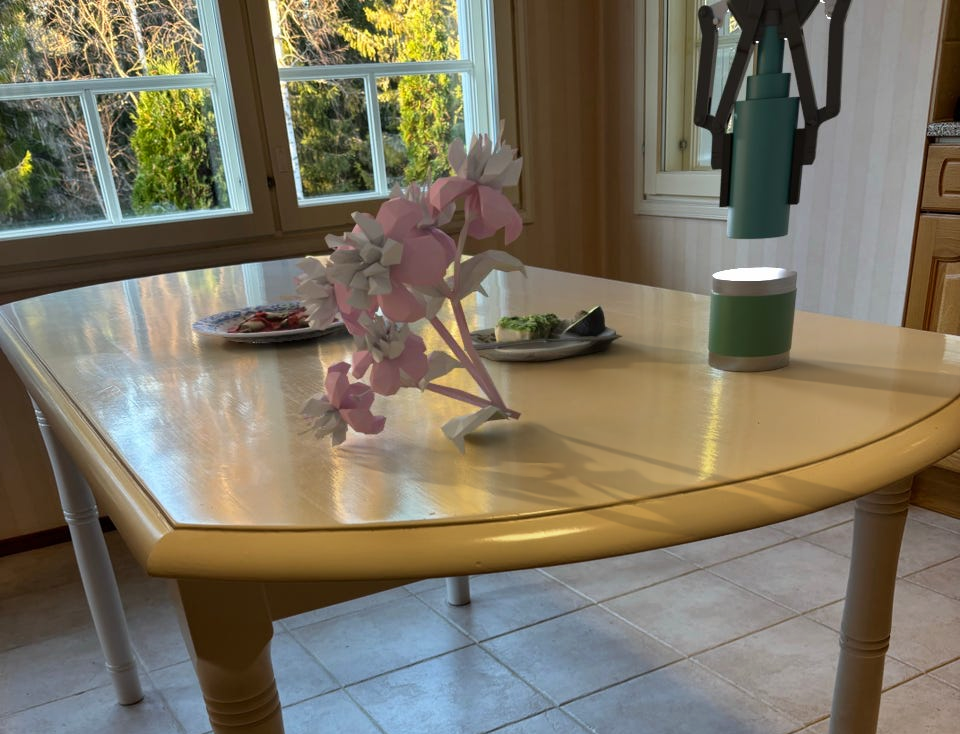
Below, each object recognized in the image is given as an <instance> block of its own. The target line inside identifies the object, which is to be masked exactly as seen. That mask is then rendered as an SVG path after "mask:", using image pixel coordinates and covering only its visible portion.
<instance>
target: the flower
mask: <svg viewBox="0 0 960 734" xmlns="http://www.w3.org/2000/svg"><path fill="white" fill-rule="evenodd" d="M505 123H506V118H502V119H500V120H499V129H500V130H499V133H498V135H497V138H496V142H495V144H494V148H493V151H492V147H493V141H492V140H491V139H490V138H489V137H488V136H489V135H488V133H484V135H482V133H481V132H480V133H478V137H477V134H476V133H475V130H472V133H471V134H472V135H471V138H470V144H469V149H468V153H467V152H466V150H465V146H464V143H463V141H462V138H461V136H459V137H457V138H456V139H455V140H453V141H452V142H451V143H449V144H448V145H447V162H448V164H449V166H450V168H451V169H452V170H453V172H454V173H455V175H454V176H453V175H452V176H445V177H438V178H437V179H436V180H435V181H434V183H433V184H432V185H431V179H432V169H431V166H430V165H428V168H427V185H426V181H423V186H422V190H421V183H418V181H417V180H415V181H414V180H411V181H410V180H408V183H409V184H408V185H407V186H406V187H405V188H403V189H402V188H401V186H400V184H399V181H398V180H396V181H395V182H394V185H393V186H392V188H391V190H390V192H389V194H388V197H389V200H387V201H385V202H382V204H381V206H380V207H379V210H378V212H377V214H376V217H375V216H373V215H372V214H370V213H367V212H362V213H361V212H359V211H354V212H352V213H350V215H351V217H352V220H353V221H354V222H355V225H354V227H353V229H352V231H344V232H343V235H340V236H338V235H335V234H331V233H328V234H327V235H325V237H323V238H324V240H325V242H326V244H327V247H328V248H329V249H330V248H331V249H332V250H334V252H332V253H331V254H330V256H329V259H326V258H325V262H326V263H325V266H324V264H323V263H322V262H321V261H320V260H319V259H317V258H315V257H312V256H308V257H304V258H301V259H300V260H298V261H297V262H296V263H295V264H294V267H296V268H299V269H300V270H302V271H303V273H301V274H299V275H297V276H296V277H295V276H293V280H294V281H293V284H294V286H295V287H296V288H295V290H294V291H295V293H296V294H297V295H281V296H277V298H278V299H280V300H282V301H302V302H300V305H299V308H301V307H303V306H304V307H306V308H307V310H306V311H305V312H300V313H299V317H298V318H300V317H301V316H302V315H303V314H309V315H310V316H309V317H308V318H307V319H306V320H305V321H310V322H309V326H310V328H313V329H319V330H324V329H325V328H327V327H328V326H329V325H330V324H331V323H333V320H334V318H335V315H336V313H337V310H338V308H339V312H340V315H341V318H342V320H343V322H344V324H345V327H346V329H347V331H348V333H349V335H352V336H353V344H354V351H355V352H353V353H352V359H351V364H350V363H348V362H346V361H337V362H333V363H332V364H331V365H330V366H329V367H327V372H326V376H325V380H324V387H325V390H326V393H325V392H323V391H321V390H320V391H318V392H317V393H315V394H314V395H312V396H311V397H309V398H308V399H306V400H304V401H302V402H301V403H300V409H299V415H303V418H302V419H301V420H302V421H306V420H309V419H312V420H313V421H310V422H309V423H307V424H306V425H305V427H308V426H311V425H312V424H314V425H313V426H312V427H310V428H309V429H307V430H305V431H302V432H297V436H298V437H301V436H302V435H305V434H306V433H308V432H310V431H312V432H314V431H316V433H314V437H315V438H316V442H318V441H319V440H320V439H323V438H324V437H327V436H329V438H331V439H330V447H337V446H341V445H342V444H343V443H344V442H346V441H347V433H348V431H349V427H350V428H351V429H352V430H353V431H354V432H355V433H361V434H364V435H370V436H371V435H373V436H374V435H375V436H376V435H378V434H380V433H382V432H383V431H384V428H385V424H386V421H387V417H386V416H385V415H383V414H382V415H381V414H380V415H373V413H372V411H371V408H372V405H373V404H374V401H375V397H376V396H375V394H378V395H380V396H384V397H390V396H396V395H397V393H398V392H399V391H400V389H401V388H403V389H409V388H411V389H412V388H413V389H417V390H420V391H421V393H422V394H423V393H424V392H425V390H427V391H430V392H433V393H436V394H439V395H441V396H445V397H447V398H450V399H454V400H457V401H460V402H462V403H466V404H469V405H473V406H474V407H478V408H480V410H478V411H475V412H473V413H468V414H463V415H460V416H456V417H452V418H450V419H449V420H447V421H446V422H445V423H444V424H442V425H441V426H440V430H441V431H442V433H443V435H444V437H445V438H446V440H451V441H452V442H453V444H454V445H455V447H456V448H457V450H458V451H459V453H460V454H461V455H463V454H465V453H466V445H465V444H466V443H465V437H466V436H467V435H468V434H470V433H472V432H473V431H474V430H476V429H478V428H479V427H481V426H482V425H483V424H485V423H487V422H493V421H501V420H508V421H510V419H509V418H511V419H513V420H516V421H518V420H519V419H520V417H521V415H522V413H521V412H518V411H516V410H513V409H511V408H508V407H507V405H506V404H505V402H504V400H503V398H502V395H501V394H500V393H499V391H498V389H497V387H496V385H495V383H494V381H493V379H492V378H491V375H490V373H489V372H488V370H487V368H486V366H485V364H484V362H483V361H482V359H481V356H479V355H478V353H477V351H476V349H475V347H474V345H473V343H472V339H471V336H470V332H471V331H470V330H469V326H468V323H467V319H466V316H465V312H464V309H463V306H462V302H461V301H462V300H464V299H465V298H467V297H468V296H469V295H471V294H473V293H476V292H477V293H479V294H480V295H482V296H483V297H485V298H489V295H488V293H487V291H486V290H485V288H484V286H483V285H482V283H483V281H485V279H487V277H488V276H489V275H490V274H491V272H492V271H494V270H496V271H500V272H504V273H512V272H518V271H519V272H520V273H521V274H522V275H523V277H524V278H525V279H526V280H528V274H527V271H526V268H525V265H524V264H523V262H522V261H521V260H520V259H518V258H517V257H515V256H513V255H511V254H509V253H508V252H507V251H503V250H497V249H488V250H486V251H483V252H480V253H477V254H475V255H473V256H472V257H470V258H468V259H466V260H464V261H462V262H461V259H462V255H463V251H464V247H465V243H466V239H467V236H470V237H472V238H475V239H476V240H478V241H479V240H483V239H486V238H491V237H493V236H494V235H495V234H496V232H497V231H498V230H500V229H502V228H504V246H505V247H506V246H508V245H509V244H511V243H513V242H514V241H516V240H517V238H518V237H519V236H520V235H521V233H522V231H523V228H524V227H523V219H522V217H521V216H520V213H518V211H517V209H516V208H515V207H514V205H513V204H512V203H511V202H510V201H509V199H508V197H507V196H506V195H504V194H503V193H502V192H503V191H502V190H503V188H511V187H515V186H518V184H519V181H520V176H521V172H522V168H523V159H524V156H521V157H518V158H517V159H515V160H513V158H514V155H515V154H516V152H517V151H518V150H519V148H512V146H511V144H507V141H506V139H504V140H503V142H502V144H501V147H500V150H498V149H499V146H500V143H501V139H502V137H503V133H504V130H505ZM483 138H484V139H483ZM483 140H484V141H483ZM483 142H484V145H483ZM426 186H427V188H426ZM426 189H427V190H426ZM403 190H404V192H403ZM425 191H426V192H425ZM466 196H467V197H466ZM464 197H466V199H465V201H464V205H463V206H464V219H465V220H464V221H465V223H464V225H463V227H462V229H461V231H460V233H459V238H458V243H457V245H456V242H455V240H454V239H453V238H452V237H450V236H449V235H448V234H446V233H445V232H444V231H443V230H442V229H439V227H442V226H444V225H446V224H449V223H450V222H451V221H452V219H453V216H454V214H455V211H456V208H457V206H456V201H458V200H460V199H462V198H464ZM336 247H337V248H336ZM332 262H333V263H332ZM452 264H453V275H450V276H447V269H449V268H450V266H451V265H452ZM446 276H447V277H446ZM445 277H446V278H445ZM446 299H448V300H449V302H450V305H451V308H452V312H453V315H454V319H455V322H456V325H457V328H458V331H459V334H460V338H461V342H462V341H463V342H462V345H463V348H462V347H461V346H460V345H459V343H458V342H457V340H456V339H455V338H454V337H453V335H452V334H451V333H450V331H449V330H448V328H447V327H446V326H445V324H443V322H442V321H441V320H440V318H439V317H438V316H437V314H438V313H439V312H440V310H441V309H442V307H443V305H444V302H445V300H446ZM379 309H380V311H381V313H382V315H378V314H377V313H378V312H379ZM384 317H385V318H387V322H386V321H385V319H384ZM424 318H425V319H426V320H427V321H428V322H429V323H430V325H431V326H432V327H433V329H434V330H435V331H436V332H437V333H438V335H439V337H440V338H441V339H442V340H443V342H444V343H445V344H446V345H447V347H448V348H449V349H450V351H451V352H452V353H453V354H454V356H455V357H456V358H457V359H456V358H454V357H453V356H452V355H450V354H448V353H447V352H446V351H443V350H433V351H431V352H430V353H428V354H426V353H425V352H426V351H427V350H428V349H427V346H426V343H425V340H424V338H423V337H422V336H421V335H418V334H416V333H414V332H413V331H411V330H410V327H409V324H410V323H411V324H414V323H416V322H418V321H420V320H422V319H424ZM396 323H400V324H401V323H402V325H401V326H400V329H398V325H397V324H396ZM464 348H465V349H466V351H464ZM371 365H372V366H371ZM370 366H371V369H370V374H369V378H368V379H369V383H370V385H368V384H365V383H363V382H360V381H359V380H361V379H363V378H364V376H365V374H366V373H367V371H368V369H369V367H370ZM350 369H351V376H352V377H353V378H354V379H356V380H357V381H356V382H353V383H350V380H349V377H348V373H349V371H350ZM454 369H465V370H466V372H467V373H468V374H469V375H470V376H471V378H472V379H473V380H474V381H475V383H476V384H477V385H478V386H479V388H480V389H481V391H482V392H483V393H484V394H485V395H486V397H487V398H488V399H489V400H487V399H486V398H483V397H480V396H478V395H475V394H473V393H470V392H468V391H465V390H463V389H459V388H454V387H450V386H446V385H442V384H437V383H433V382H431V381H433V380H436V379H439V378H442V377H444V376H446V375H447V374H449V373H450V372H452V371H453V370H454Z"/></svg>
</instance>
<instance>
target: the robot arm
mask: <svg viewBox="0 0 960 734" xmlns="http://www.w3.org/2000/svg"><path fill="white" fill-rule="evenodd" d="M853 1H854V0H719V1H716V2H714V3H712V4H711V5H708V4H707V5H706V4H704V5H701V6H700V7H699V9H698V11H697V18H698V24H699V27H700V33H701V41H700V42H701V43H700V51H699V60H698V61H699V62H698V70H697V71H698V72H697V80H696V82H697V83H696V92H695V103H694V110H693V111H694V113H693V123H694V125H695V126H696V127H698V128H702V129H705V130H707V131H709V133H710V134H711V150H710V151H711V152H710V166H711V170H712V171H718V170H721V171H720V185H719V201H718V202H719V203H718V208H728V201H729V185H730V168H731V152H732V136H733V132H728V129H729V124H730V121H731V118H732V115H733V114H734V103H735V101H738V98H739V95H740V92H741V88H742V85H743V83H744V79H745V77H746V74H747V71H748V68H749V65H750V62H751V58H752V56H753V55H754V52H755V49H756V46H757V44H758V42H759V41H763V36H764V35H765V31H766V26H762V13H763V11H765V10H773V9H781V10H782V24H781V25H777V34H778V39H785V41H787V44H788V49H789V52H790V56H791V57H790V58H791V60H792V67H793V71H794V76H795V81H796V87H797V91H798V97H800V106H801V111H802V117H803V122H804V126H803V127H797V129H796V133H795V144H794V155H793V167H792V178H791V189H790V200H789V205H790V206H794V205H795V206H796V205H798V204H800V199H801V189H802V180H803V179H802V178H803V168H804V167H803V166H812V165H813V164H814V162H815V160H816V158H817V147H818V137H819V129H820V127H821V125H822V124H823V123H825V122H827V121H830V120H831V119H835V118H836V117H838V116H839V115H840V113H841V109H842V91H843V90H842V89H843V68H844V48H845V47H844V46H845V28H846V27H845V25H846V22H847V18H848V16H849V12H850V10H851V7H852V5H853ZM820 2H822V3H823V4H824V15H825V16H826V17H827V19H829V26H828V28H829V29H828V42H827V43H828V45H827V66H826V67H827V68H826V69H827V70H826V93H825V106H823V107H821V108H819V106H818V102H817V97H816V91H815V86H814V82H813V76H812V71H811V70H812V69H811V66H810V60H809V54H808V49H807V44H806V38H805V33H804V28H803V27H804V26H805V24H806V23H807V22H808V20H809V18H810V17H811V16H812V14H813V13H814V11H815V10H816V8H817V7H818V6H819V4H820ZM729 12H730V14H731V16H732V17H733V19H734V20H735V22H736V24H737V26H738V27H739V29H740V30H741V32H740V35H739V39H738V40H737V41H738V42H737V44H736V49H735V53H734V56H733V60H732V63H731V66H730V68H729V72H728V75H727V77H726V81H725V84H724V87H723V90H722V92H721V96H720V99H719V103H718V105H717V109H716V111H715V115H714V114H711V113H712V104H713V96H714V95H713V94H714V87H715V77H716V68H717V58H718V50H719V49H718V48H719V37H720V36H719V31H720V30H721V29H722V28H723V27H724V25H725V20H726V15H727V14H728V13H729Z"/></svg>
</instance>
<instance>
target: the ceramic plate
mask: <svg viewBox="0 0 960 734" xmlns="http://www.w3.org/2000/svg"><path fill="white" fill-rule="evenodd" d="M302 301H303V300H297V301H289V302H288V301H287V302H279V303H278V302H277V303H268V304H262V305H261V304H260V305H255V306H248V307H247V306H246V307H243V308H242V307H240V308H236V309H232V310H227V311H222V312H218V313H215V314H212V315H208V316H205V317H203V318H200V319H198V320H196V321H194V322H193V323H192V324H191V326H190V328H191V331H193V332H194V333H196V334H198V335H202V336H206V337H215V338H216V337H217V338H222V339H225V340H227V341H230V342H234V341H236V342H235V343H238V342H248V343H247V344H263V343H262V342H279V343H281V342H280V341H290V342H292V341H291V340H297V341H302V340H301V339H304V340H308V339H307V338H309V339H314V338H313V337H315V338H319V337H323V336H326V335H330V334H332V332H333V333H335V332H336V331H338V330H340V329H343V328H344V327H346V325H345V324H344V322H343V320H342V318H341V315H340V312H339V308H338V310H337V313H336V315H335V318H334V320H333V323H331V324H330V325H329V326H328V327H327V328H325V329H324V330H319V329H313V328H310V326H309V322H310V321H305V320H306V319H307V318H308V317H309V316H310V315H309V314H303V315H302V316H301V317H300V318H298V317H299V313H300V312H305V311H306V310H307V308H306V307H304V306H303V307H301V308H299V305H300V302H302ZM329 333H330V334H329ZM322 335H323V336H322ZM318 336H319V337H318ZM253 342H255V343H253ZM256 342H257V343H256ZM259 342H260V343H259Z"/></svg>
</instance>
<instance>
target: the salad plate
mask: <svg viewBox="0 0 960 734" xmlns="http://www.w3.org/2000/svg"><path fill="white" fill-rule="evenodd" d="M497 322H498V323H497V324H496V325H495V326H494V327H490V328H483V329H478V330H477V329H476V330H472V331H469V332H470V336H471V339H472V343H473V345H474V347H475V349H476V351H477V353H478V355H479V357H480V358H481V357H482V358H486V359H488V360H491V361H498V362H501V361H503V362H505V361H506V362H508V361H509V362H544V361H545V362H546V361H552V360H558V359H559V360H560V359H565V358H569V357H576V356H582V355H589V354H592V353H598V352H602V351H604V350H607V349H608V348H609V347H610V345H611V344H612V343H613V342H614V341H616V340H618V339H619V338H622V337H623V335H621V334H618V333H617V330H616V329H615V328H612V327H608V326H606V317H605V313H604V310H603V308H602V307H601V305H596V306H594V307H593V308H591V309H590V310H589V311H587V310H583V309H582V310H581V309H580V310H578V311H575V312H574V313H573V315H572V317H571V318H568V317H567V318H566V317H564V318H563V317H558V316H557V315H556V314H555V313H553V312H551V313H549V312H546V313H545V314H539V313H537V314H536V313H534V314H529V315H528V317H527V316H526V315H524V316H517V315H514V316H510V317H509V316H503V317H501V318H500V319H498V321H497ZM461 342H462V343H463V341H462V340H461ZM463 351H464V352H467V351H466V349H465V348H464V347H463Z"/></svg>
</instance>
